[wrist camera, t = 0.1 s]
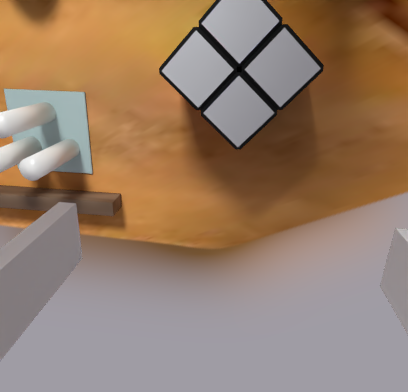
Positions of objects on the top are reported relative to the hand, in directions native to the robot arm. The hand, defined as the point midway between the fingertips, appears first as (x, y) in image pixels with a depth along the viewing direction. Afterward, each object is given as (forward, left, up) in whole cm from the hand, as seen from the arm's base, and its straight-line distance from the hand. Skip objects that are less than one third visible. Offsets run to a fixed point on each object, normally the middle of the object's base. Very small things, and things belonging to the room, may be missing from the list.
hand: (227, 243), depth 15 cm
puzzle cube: (-6, 0, -28) cm, 29 cm away
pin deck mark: (+2, -23, -28) cm, 36 cm away
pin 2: (+4, -21, -28) cm, 35 cm away
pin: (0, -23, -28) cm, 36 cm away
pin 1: (+4, -26, -28) cm, 38 cm away
